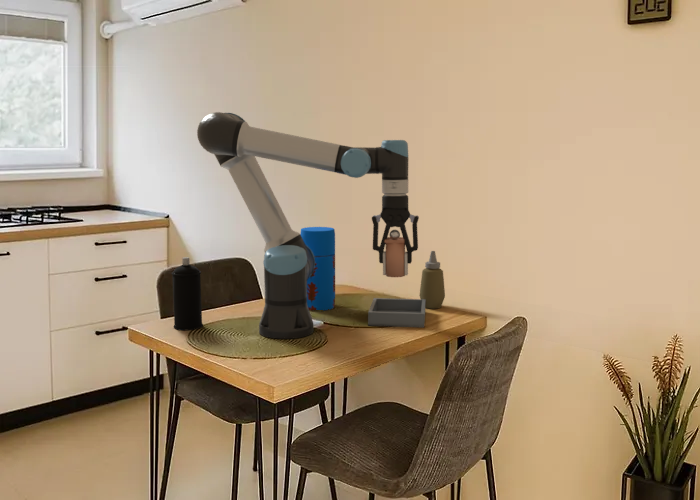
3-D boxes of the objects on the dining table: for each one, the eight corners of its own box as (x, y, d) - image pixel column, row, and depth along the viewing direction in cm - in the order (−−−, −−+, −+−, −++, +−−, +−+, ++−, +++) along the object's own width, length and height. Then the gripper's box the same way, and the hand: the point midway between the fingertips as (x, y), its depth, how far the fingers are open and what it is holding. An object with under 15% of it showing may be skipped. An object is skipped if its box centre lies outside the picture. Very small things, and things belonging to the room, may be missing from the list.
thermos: (296, 309, 226) (295, 230, 222) (308, 301, 237) (307, 226, 232) (329, 311, 223) (328, 231, 219) (339, 304, 233) (339, 227, 229)
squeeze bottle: (415, 308, 228) (416, 252, 225) (424, 302, 235) (425, 248, 232) (439, 311, 224) (440, 254, 221) (448, 305, 231) (449, 250, 228)
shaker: (384, 277, 207) (384, 239, 205) (386, 273, 213) (386, 237, 211) (404, 277, 206) (404, 240, 205) (405, 273, 212) (405, 237, 210)
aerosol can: (196, 331, 202) (193, 260, 198) (168, 329, 203) (165, 259, 200) (207, 323, 210) (205, 255, 206) (181, 322, 211) (178, 254, 208)
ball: (391, 241, 206) (392, 231, 205) (387, 237, 208) (388, 228, 207) (400, 241, 207) (402, 231, 206) (397, 237, 209) (398, 228, 208)
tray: (368, 325, 207) (368, 312, 207) (373, 310, 225) (373, 298, 224) (424, 327, 205) (424, 313, 205) (425, 312, 223) (425, 299, 222)
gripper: (361, 195, 203) (362, 276, 207) (427, 195, 201) (427, 277, 204) (364, 193, 211) (365, 271, 214) (428, 193, 208) (428, 272, 212)
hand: (395, 274), depth 209 cm, fingers closed on shaker, 6 cm apart
